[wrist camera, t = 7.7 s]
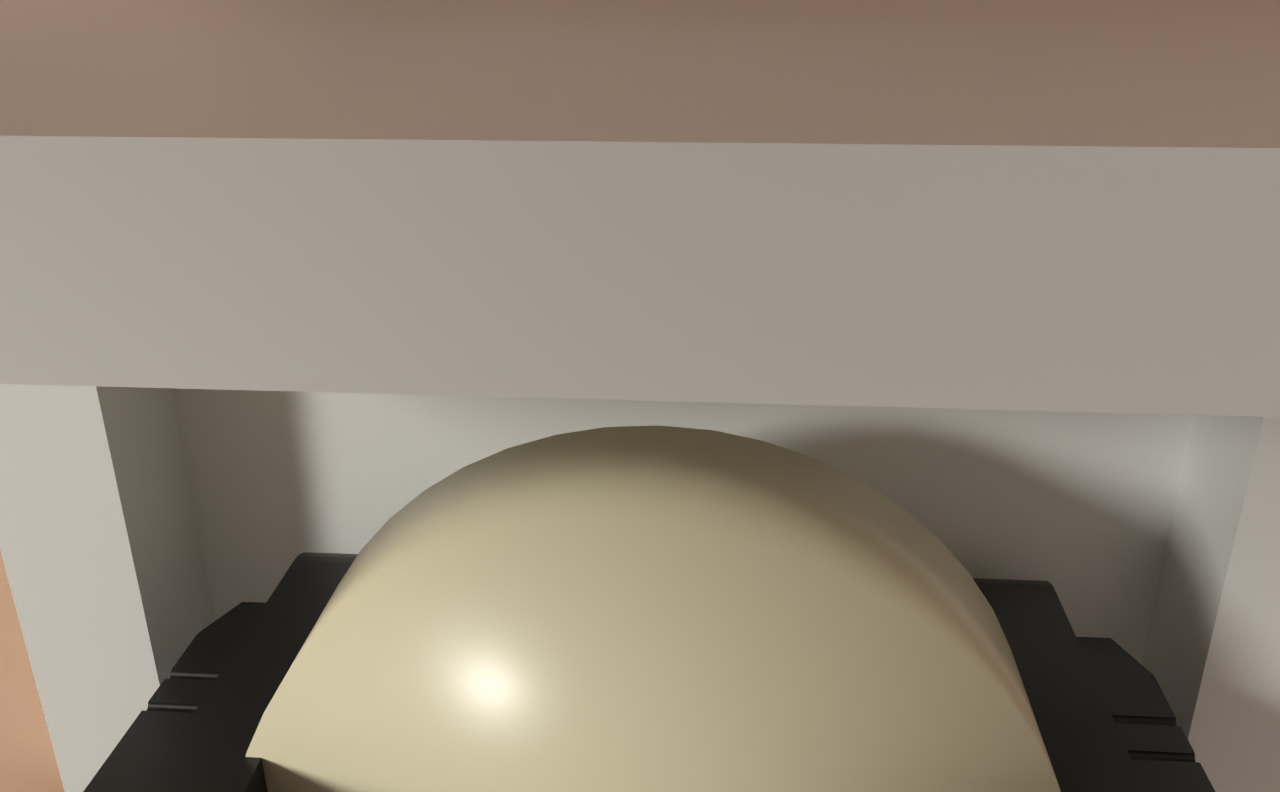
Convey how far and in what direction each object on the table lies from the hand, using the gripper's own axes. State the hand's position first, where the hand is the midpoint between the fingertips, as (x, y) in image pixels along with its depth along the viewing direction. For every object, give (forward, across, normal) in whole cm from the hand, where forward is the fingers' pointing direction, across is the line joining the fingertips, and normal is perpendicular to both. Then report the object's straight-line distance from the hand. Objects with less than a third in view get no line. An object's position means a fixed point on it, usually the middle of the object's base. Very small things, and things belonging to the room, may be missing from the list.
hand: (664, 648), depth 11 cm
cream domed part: (-1, 0, 0) cm, 1 cm away
